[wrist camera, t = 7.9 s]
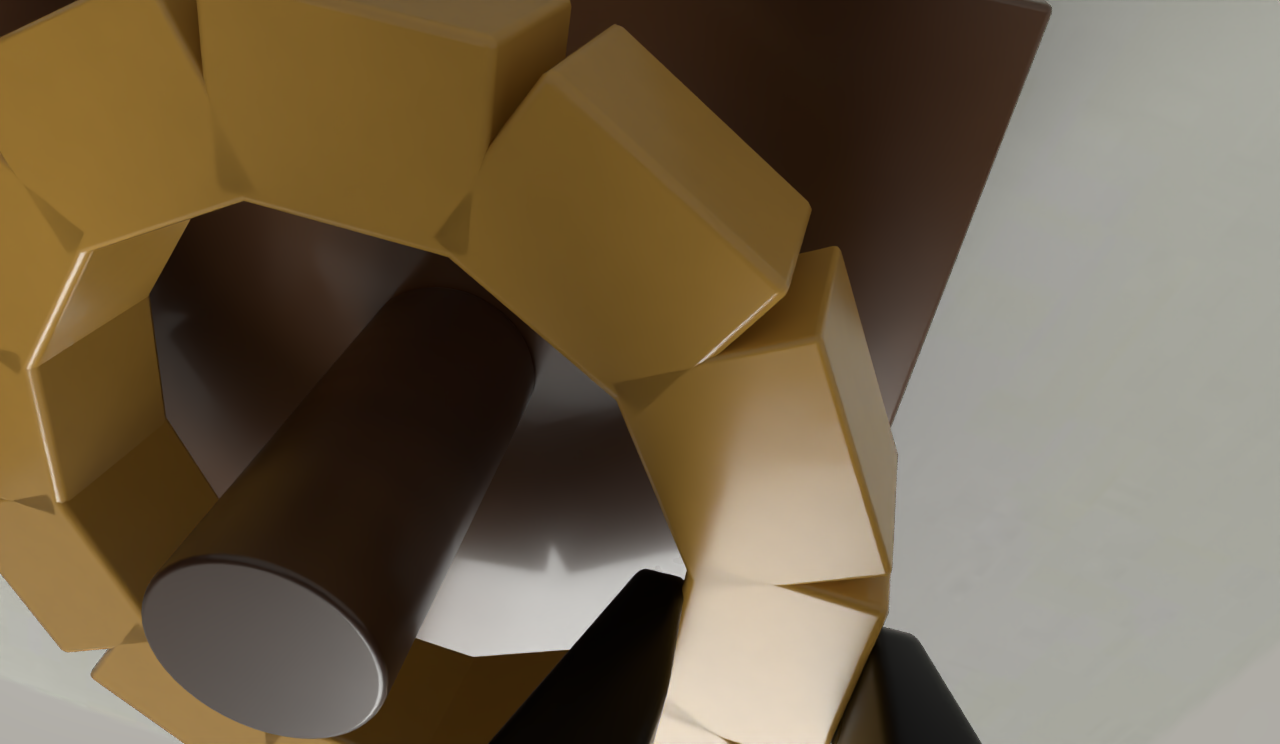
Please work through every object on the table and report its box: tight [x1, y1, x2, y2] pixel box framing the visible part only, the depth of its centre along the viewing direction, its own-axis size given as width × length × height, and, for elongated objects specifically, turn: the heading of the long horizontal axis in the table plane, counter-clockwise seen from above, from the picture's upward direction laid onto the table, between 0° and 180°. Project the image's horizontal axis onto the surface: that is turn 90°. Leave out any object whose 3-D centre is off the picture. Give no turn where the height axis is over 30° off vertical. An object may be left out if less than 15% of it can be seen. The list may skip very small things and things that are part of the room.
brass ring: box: [0, 0, 898, 744], centre depth 9 cm, size 9×9×2 cm
